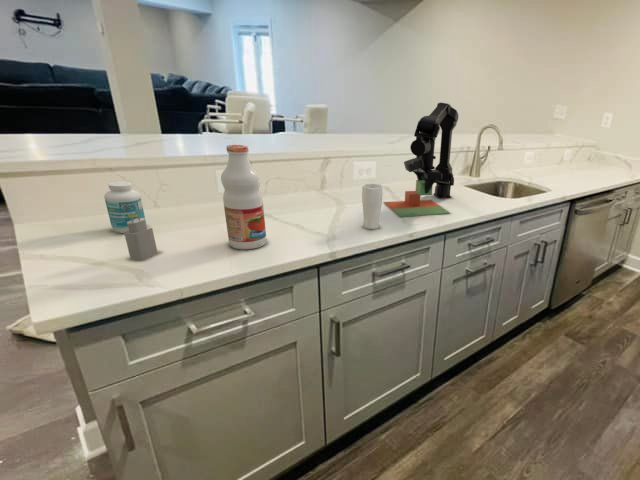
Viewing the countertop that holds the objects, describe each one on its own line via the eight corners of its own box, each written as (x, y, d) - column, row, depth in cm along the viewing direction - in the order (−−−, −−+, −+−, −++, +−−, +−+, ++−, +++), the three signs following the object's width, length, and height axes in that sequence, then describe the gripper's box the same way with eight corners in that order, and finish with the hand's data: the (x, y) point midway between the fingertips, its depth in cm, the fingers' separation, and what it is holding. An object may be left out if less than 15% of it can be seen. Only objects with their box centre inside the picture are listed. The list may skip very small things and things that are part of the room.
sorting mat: (431, 200, 174) (431, 199, 174) (449, 213, 161) (449, 212, 161) (384, 202, 163) (384, 202, 162) (400, 217, 149) (400, 216, 149)
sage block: (426, 191, 158) (427, 179, 156) (431, 195, 154) (432, 183, 153) (415, 191, 156) (416, 179, 154) (420, 195, 152) (421, 183, 150)
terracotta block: (415, 201, 169) (416, 190, 167) (419, 205, 165) (420, 194, 163) (404, 202, 166) (405, 191, 164) (409, 205, 162) (409, 194, 160)
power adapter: (128, 259, 95) (117, 213, 90) (147, 250, 100) (137, 207, 95) (141, 261, 95) (130, 215, 90) (159, 252, 100) (149, 209, 95)
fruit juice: (235, 236, 114) (223, 141, 104) (270, 238, 117) (262, 145, 106) (223, 249, 106) (209, 147, 95) (261, 250, 108) (251, 151, 98)
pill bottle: (109, 234, 105) (96, 187, 100) (117, 225, 111) (105, 179, 106) (144, 233, 109) (133, 187, 103) (150, 224, 114) (140, 180, 109)
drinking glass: (376, 232, 132) (377, 190, 126) (357, 228, 133) (358, 186, 127) (384, 226, 138) (385, 185, 132) (367, 222, 139) (367, 182, 133)
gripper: (398, 147, 151) (396, 185, 157) (417, 157, 137) (414, 198, 143) (423, 147, 157) (421, 184, 163) (444, 157, 143) (440, 197, 149)
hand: (423, 191), depth 155 cm, fingers closed on sage block, 5 cm apart
